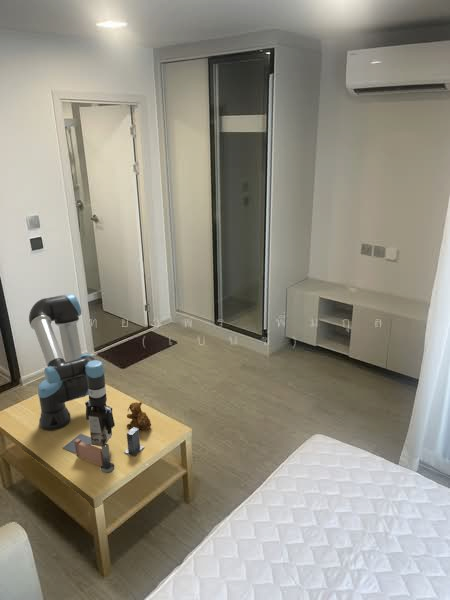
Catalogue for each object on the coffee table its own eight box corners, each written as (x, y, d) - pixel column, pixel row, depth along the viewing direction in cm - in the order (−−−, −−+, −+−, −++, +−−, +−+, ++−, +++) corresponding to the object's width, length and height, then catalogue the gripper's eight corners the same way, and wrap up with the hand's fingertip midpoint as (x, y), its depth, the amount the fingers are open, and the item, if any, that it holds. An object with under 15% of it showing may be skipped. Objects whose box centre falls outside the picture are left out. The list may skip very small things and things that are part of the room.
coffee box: (104, 447, 203) (101, 417, 197) (91, 445, 205) (87, 415, 199) (112, 434, 212) (110, 405, 206) (100, 432, 213) (97, 404, 207)
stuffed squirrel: (139, 416, 236) (137, 395, 231) (157, 427, 227) (156, 405, 223) (123, 425, 228) (121, 403, 224) (142, 437, 220) (140, 414, 215)
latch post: (124, 453, 209) (122, 433, 205) (133, 444, 215) (132, 425, 211) (134, 456, 206) (133, 437, 202) (144, 447, 212) (142, 428, 208)
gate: (105, 463, 201) (103, 447, 198) (102, 466, 199) (100, 450, 196) (79, 453, 207) (77, 438, 204) (76, 456, 205) (74, 440, 202)
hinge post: (97, 470, 198) (95, 448, 194) (106, 462, 203) (104, 440, 199) (108, 474, 195) (105, 452, 191) (117, 466, 201) (115, 444, 196)
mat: (62, 448, 212) (62, 447, 212) (80, 434, 222) (80, 433, 222) (78, 454, 208) (78, 454, 207) (96, 439, 218) (96, 439, 218)
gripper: (73, 392, 200) (79, 434, 208) (109, 404, 192) (113, 447, 200) (85, 384, 206) (90, 425, 215) (121, 395, 198) (124, 438, 206)
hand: (101, 435), depth 207 cm, fingers closed on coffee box, 7 cm apart
